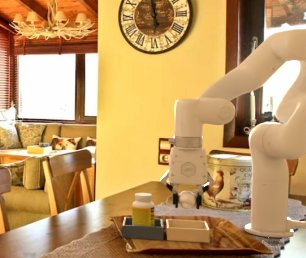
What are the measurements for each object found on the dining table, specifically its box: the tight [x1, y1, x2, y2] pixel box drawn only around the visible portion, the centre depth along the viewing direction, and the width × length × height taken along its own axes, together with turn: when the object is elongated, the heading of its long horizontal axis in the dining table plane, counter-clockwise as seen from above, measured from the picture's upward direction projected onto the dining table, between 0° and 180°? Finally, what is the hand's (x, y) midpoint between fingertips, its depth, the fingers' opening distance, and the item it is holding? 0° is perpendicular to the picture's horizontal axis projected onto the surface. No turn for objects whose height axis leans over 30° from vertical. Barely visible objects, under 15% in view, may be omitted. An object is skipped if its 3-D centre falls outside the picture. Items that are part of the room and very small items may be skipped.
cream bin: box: [165, 218, 211, 244], centre depth 144 cm, size 11×10×4 cm
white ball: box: [178, 190, 196, 210], centre depth 144 cm, size 5×5×5 cm
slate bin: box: [122, 216, 164, 241], centre depth 147 cm, size 11×10×4 cm
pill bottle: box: [131, 192, 156, 227], centre depth 147 cm, size 6×6×11 cm
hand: (186, 207), depth 144 cm, fingers closed on white ball, 5 cm apart
